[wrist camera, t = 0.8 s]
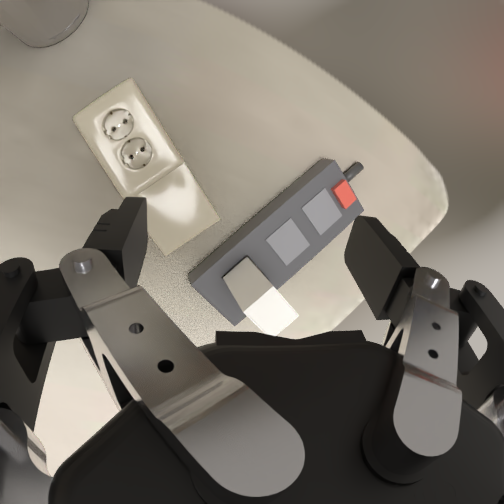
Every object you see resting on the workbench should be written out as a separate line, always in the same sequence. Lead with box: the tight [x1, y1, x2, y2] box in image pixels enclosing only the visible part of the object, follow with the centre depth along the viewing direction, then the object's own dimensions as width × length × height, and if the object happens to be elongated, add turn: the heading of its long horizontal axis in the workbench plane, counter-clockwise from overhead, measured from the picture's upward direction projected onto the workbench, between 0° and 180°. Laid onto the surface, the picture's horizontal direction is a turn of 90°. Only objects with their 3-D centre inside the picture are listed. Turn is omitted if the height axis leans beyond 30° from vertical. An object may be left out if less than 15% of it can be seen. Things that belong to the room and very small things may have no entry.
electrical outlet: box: [73, 78, 220, 257], centre depth 31 cm, size 7×4×18 cm
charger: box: [223, 257, 299, 336], centre depth 35 cm, size 5×4×12 cm
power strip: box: [188, 158, 364, 326], centre depth 38 cm, size 8×26×4 cm, turn 128°
